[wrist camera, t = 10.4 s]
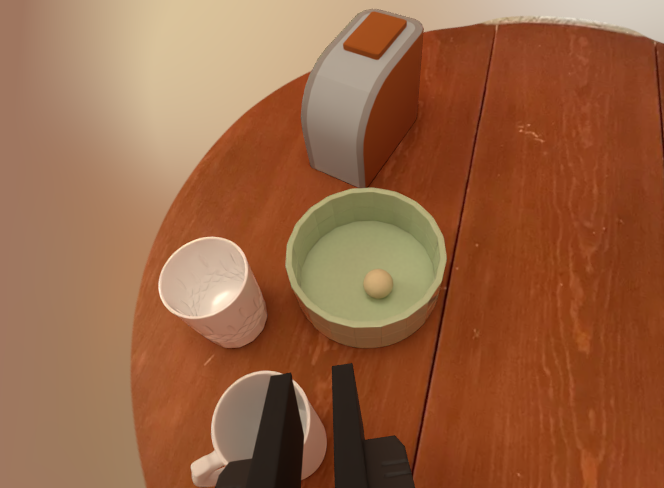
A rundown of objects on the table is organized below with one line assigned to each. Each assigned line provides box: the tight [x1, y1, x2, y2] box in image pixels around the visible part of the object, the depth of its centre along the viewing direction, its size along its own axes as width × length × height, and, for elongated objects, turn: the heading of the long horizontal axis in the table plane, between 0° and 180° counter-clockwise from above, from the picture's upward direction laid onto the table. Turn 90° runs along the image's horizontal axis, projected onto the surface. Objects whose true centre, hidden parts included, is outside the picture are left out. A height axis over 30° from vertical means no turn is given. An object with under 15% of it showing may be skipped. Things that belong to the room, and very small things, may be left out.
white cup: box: [159, 237, 267, 348], centre depth 43 cm, size 8×8×10 cm
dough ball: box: [363, 269, 393, 299], centre depth 45 cm, size 3×3×3 cm
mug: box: [191, 371, 327, 487], centre depth 35 cm, size 10×7×12 cm, turn 121°
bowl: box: [286, 188, 447, 348], centre depth 45 cm, size 15×15×6 cm
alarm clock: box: [301, 9, 424, 188], centre depth 52 cm, size 15×8×14 cm, turn 147°
